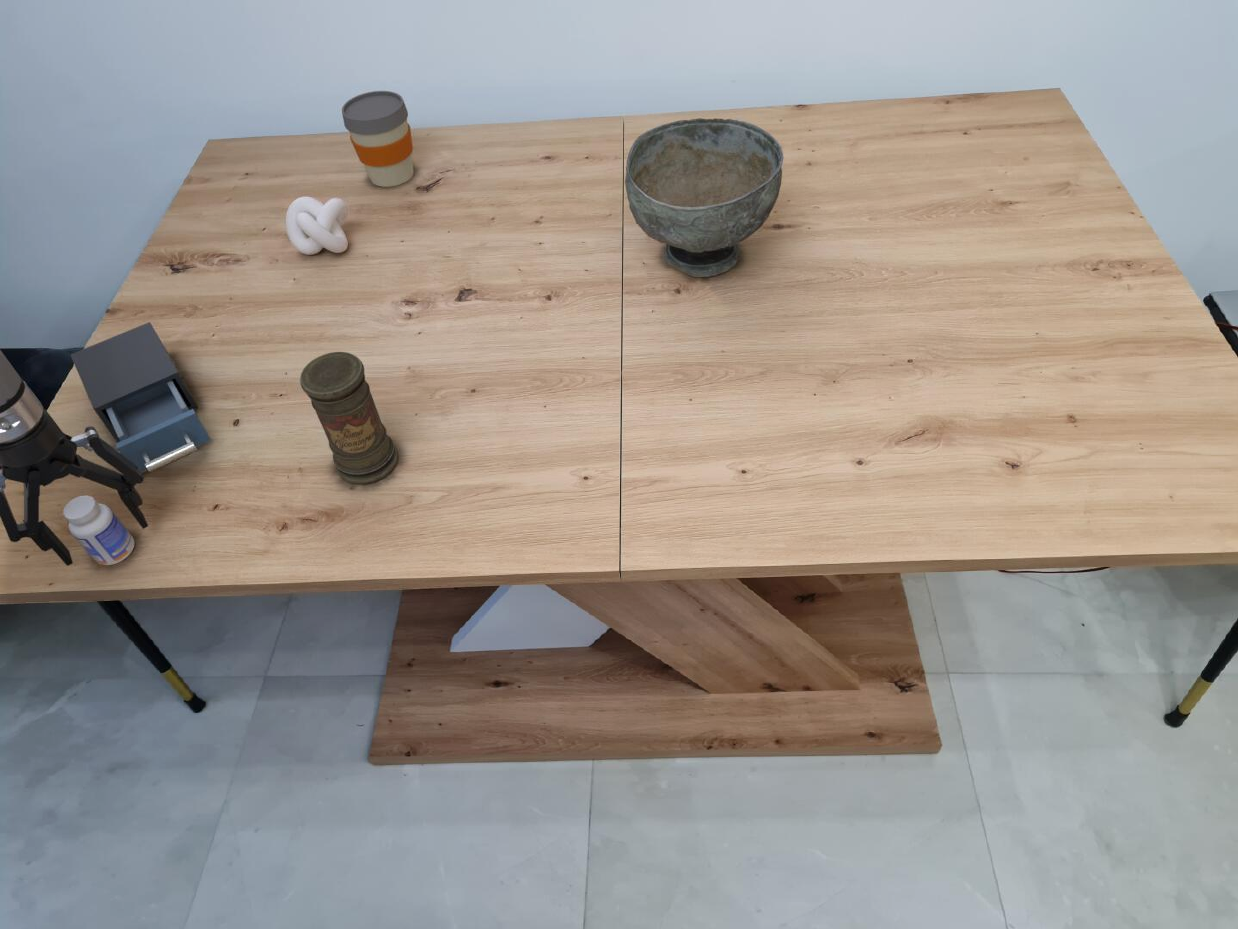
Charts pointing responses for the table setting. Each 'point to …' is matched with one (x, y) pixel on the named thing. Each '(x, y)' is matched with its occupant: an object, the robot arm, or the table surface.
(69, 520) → the pill bottle
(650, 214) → the decorative bowl
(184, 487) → the table surface
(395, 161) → the reusable coffee cup
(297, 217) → the white knot sculpture
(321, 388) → the container
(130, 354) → the small cabinet
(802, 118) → the table surface
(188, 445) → the drawer
